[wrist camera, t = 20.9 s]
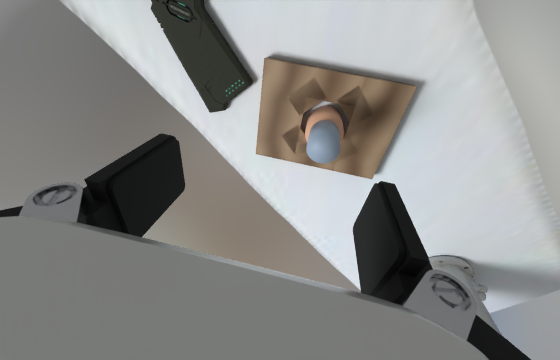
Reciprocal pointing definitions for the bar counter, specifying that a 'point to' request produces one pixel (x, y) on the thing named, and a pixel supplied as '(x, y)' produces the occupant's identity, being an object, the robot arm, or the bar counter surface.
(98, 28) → the bar counter surface
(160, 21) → the firearm
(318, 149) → the blue-grey rounded cylinder
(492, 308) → the bar counter surface
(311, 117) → the tan rounded lump
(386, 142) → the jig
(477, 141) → the bar counter surface
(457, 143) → the bar counter surface
